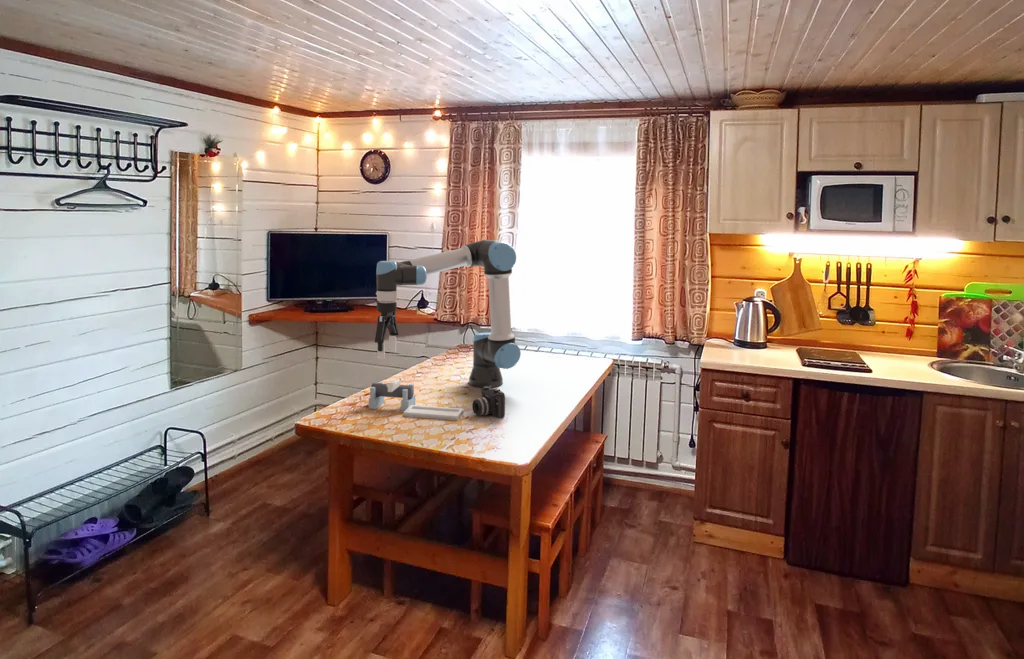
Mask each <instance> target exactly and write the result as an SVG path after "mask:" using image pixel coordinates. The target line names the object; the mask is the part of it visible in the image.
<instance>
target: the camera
mask: <svg viewBox="0 0 1024 659" xmlns="http://www.w3.org/2000/svg"><path fill="white" fill-rule="evenodd" d="M480 394H481V395H480V396H481V397H479V398H476V399H474V400H473V401H472V412H473V413H474V414H475V415H476V416H487V415H492V416H495V417H496V418H498V419H501V418H504V417H506V416H505V415H506V396H505V393H504V392H503V391H501V389H500V388H496V387H491V386H490V387H489V386H484V387H481V393H480Z"/></svg>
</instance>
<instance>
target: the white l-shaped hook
mask: <svg viewBox="0 0 1024 659" xmlns="http://www.w3.org/2000/svg"><path fill="white" fill-rule="evenodd" d="M386 384H387V387H388V392H393V391H394V390H395V389H396V388H398V387H399V386H400V385H401V380H398V379H396V380H394V381H393V380H392V381H391V380H388V381H386Z"/></svg>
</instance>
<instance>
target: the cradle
mask: <svg viewBox="0 0 1024 659" xmlns="http://www.w3.org/2000/svg"><path fill="white" fill-rule="evenodd" d="M377 383H380V384H383V381H378V382H377ZM414 384H415V383H409V384H408V385H409V386H413V387H414V386H415V385H414ZM369 395H370V396H369V398H368V409H371V410H373V409H374V410H377V409H378V408H380V407H381V406H382V405H383V404H384V403H385V397H383V396H376V387H371V386H370V388H369ZM411 405H416V394H415V393H414V394H413V397H412V398H408V389H403V390H402V398H401V401H400V411H401V412H404V411H405V410H406V409H407V408H408V407H409V406H411Z"/></svg>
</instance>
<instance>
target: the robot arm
mask: <svg viewBox="0 0 1024 659" xmlns="http://www.w3.org/2000/svg"><path fill="white" fill-rule="evenodd" d="M516 262H517V254H516V251H515V248H514V247H513V246H512V245H511V244H510V243H508V242H505V241H502V240H493V239H482V240H478V241H475V242H471V243H468V244H463V245H461V247H459V248H458V249H453V250H452V249H451V250H447V251H444V252H439V253H435V254H431V255H426V256H422V257H417V258H413V259H408V260H404V261H401V262H398V261H394V260H380V261H378V262H377V263H376V270H375V271H376V273H375V275H376V276H375V277H376V292H375V296H376V301H377V302H376V311H377V313H380V315H378V316H377V325H376V331H375V338H374V343H376V345H377V346H376V347H377V348H376V349H377V350H376V351H377V352H376V353H377V360H386V352H385V351H386V346H385V344H386V342H385V338H386V333H387V331H388V332H389V335H388V352H389V353H391V352H392V353H397V336H399V329H398V322H397V317H396V312H397V306H398V304H397V303H398V302H397V300H398V298H397V295H398V294H397V291H398V290H397V289H398V288H397V286H398V287H400V286H421V285H424V284H425V283H426V281H427V277H428V276H427V275H431V274H435V273H441V272H444V271H448V270H452V269H456V268H460V267H466V268H471V267H483V273H484V275H485V276H486V278H487V281H488V282H487V283H488V297H489V298H488V301H489V314H490V315H489V318H490V332H480V333H475V334H474V336H473V341H472V343H473V354H472V355H473V357H472V360H473V361H472V362H473V364H472V368H471V372H470V375H469V378H468V384H469V385H471V386H473V387H479V388H483V387H484V386H489V387H490V386H491V388H496V387H499V386H502V385H503V384H504V383H503V381H504V379H503V376H502V371H501V369H503V370H504V369H505V370H508V369H512V368H513V367H515V366H516V365H517V363H518V362H519V361H520V359H521V354H522V353H521V352H522V351H521V348H520V346H518V344H516V336H515V334H514V333H513V332H512V322H511V321H512V320H511V301H510V282H509V281H510V280H509V278H510V276H511V274H512V273H513V267H514V265H515V264H516Z"/></svg>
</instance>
